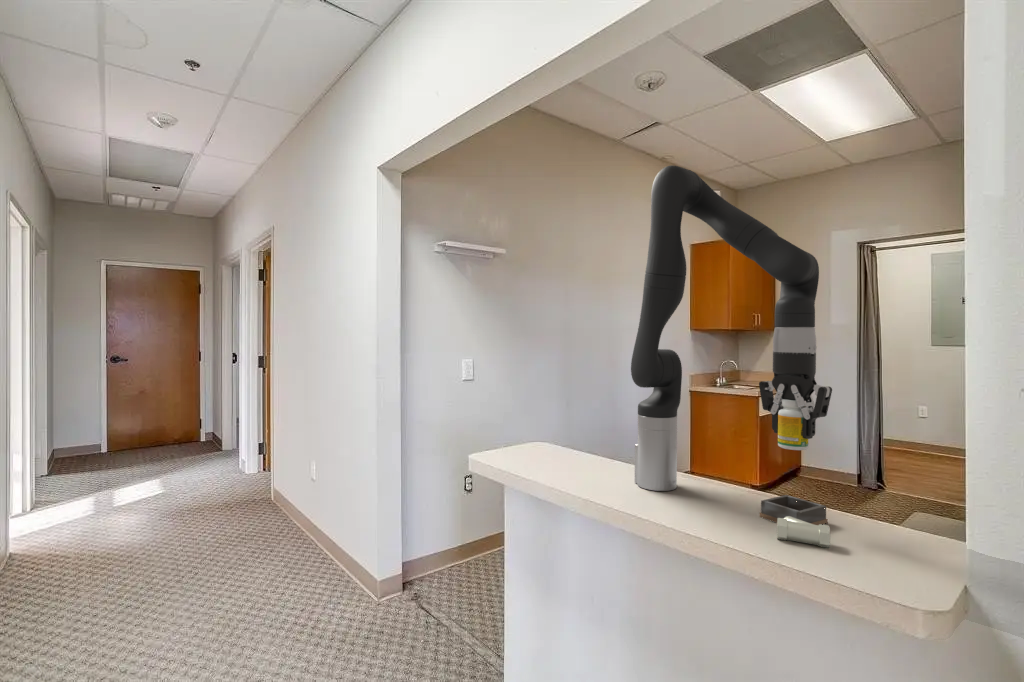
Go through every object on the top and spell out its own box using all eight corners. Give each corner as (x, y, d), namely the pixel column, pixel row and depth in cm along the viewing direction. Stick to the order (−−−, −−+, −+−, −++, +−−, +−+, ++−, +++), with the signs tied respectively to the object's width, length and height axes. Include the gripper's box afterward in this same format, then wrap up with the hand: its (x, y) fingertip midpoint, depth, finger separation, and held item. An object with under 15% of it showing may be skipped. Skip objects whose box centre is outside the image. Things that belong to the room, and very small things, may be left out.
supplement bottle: (781, 443, 106) (782, 397, 106) (811, 447, 102) (811, 399, 102) (774, 447, 102) (775, 399, 102) (805, 451, 98) (805, 401, 98)
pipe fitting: (777, 532, 97) (777, 542, 91) (778, 511, 97) (777, 519, 91) (827, 540, 93) (829, 551, 87) (827, 518, 93) (830, 527, 88)
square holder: (759, 516, 104) (759, 500, 104) (785, 510, 108) (785, 494, 108) (800, 530, 96) (801, 513, 96) (827, 523, 100) (827, 506, 100)
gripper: (749, 349, 106) (748, 431, 107) (819, 351, 94) (818, 444, 94) (772, 349, 110) (771, 428, 110) (842, 351, 97) (841, 440, 98)
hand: (793, 435), depth 102 cm, fingers closed on supplement bottle, 5 cm apart
